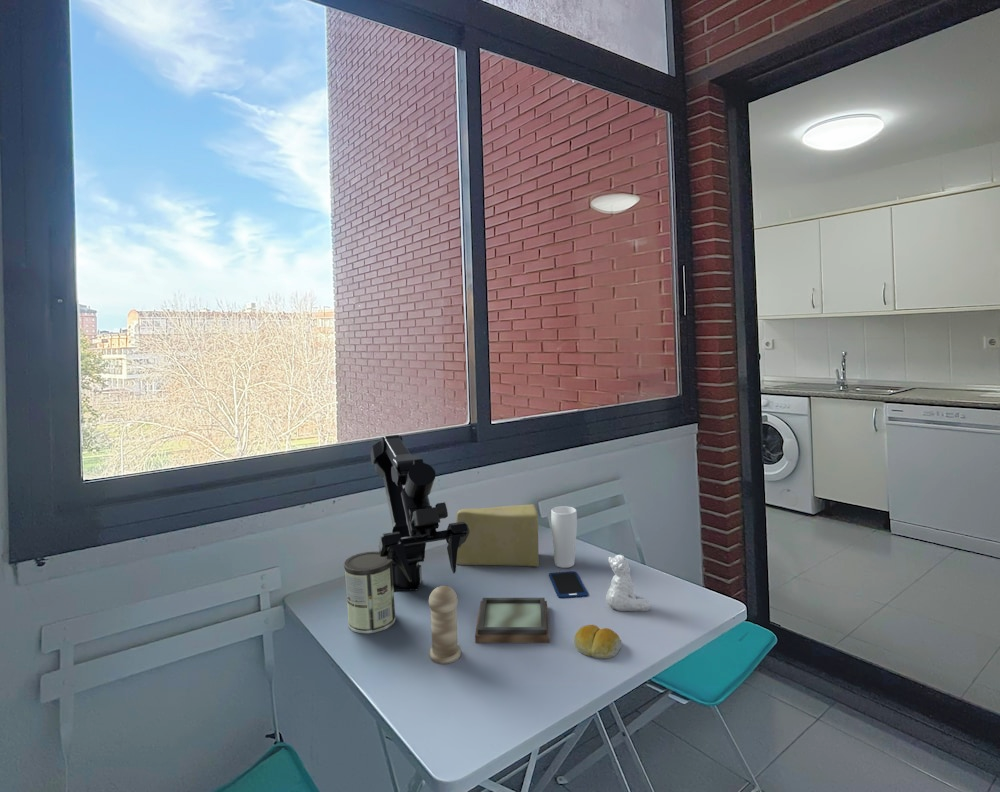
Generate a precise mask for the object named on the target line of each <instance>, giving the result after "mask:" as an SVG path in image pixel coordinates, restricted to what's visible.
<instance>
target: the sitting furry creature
mask: <svg viewBox="0 0 1000 792" xmlns="http://www.w3.org/2000/svg"><path fill="white" fill-rule="evenodd" d="M608 563H609V567H610V568H611V571H613V573H614V575H613V577H612V578H611V580H610V584H609V585H610V587H608V590H607V592H606V595H605V599H606V600H605V601H606V604H607V605H608V606H609V607H610V609H613V610H615V611H618V612H648V611H650V610H651V603H650V602H649V600H647V599H644V598H643V597H641V598H637V596H636V594H635V593H634V588H635V585H634V582H633V580H632V577H631V574H630V573H631V568H630V565H629V561H628V560H627V559H626V558H625V556H624V554H616V555H615V556H614V557H613V556H609V557H608Z"/></svg>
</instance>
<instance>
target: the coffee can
mask: <svg viewBox="0 0 1000 792" xmlns="http://www.w3.org/2000/svg"><path fill="white" fill-rule="evenodd" d="M392 562H393V560H392V559H387V556H385V557H381V556H380V552H379V551H366V552H360V553H357V554H355V555H352V556H349V557H347V559H345V560H344V563H343V568H344V576H345V579H344V580H345V590H346V591H345V592H346V606H347V617H348V618H347V619H348V621H347V622H348V623H347V624H348V629H350V631H352V632H355V633H358V634H375V633H380V632H382V631H384V630H387V629H389V628H390V627H392V625H394V623H395V622H396V607H395V606H396V605H395V590H394V588H393V570H392Z"/></svg>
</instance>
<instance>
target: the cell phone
mask: <svg viewBox="0 0 1000 792" xmlns="http://www.w3.org/2000/svg"><path fill="white" fill-rule="evenodd" d="M548 578H549V579H550V582H551V584H552V587H553V589H554V591H555V594H556V597H557V598H558V599H573V598H574V599H575V598H586V597H589V592H588V591H587V589H586V587H585V585H584V583H583V581H582V580H581V577H580V576H579V574H578V572H577V571H575V570H572V571H571V570H570V571H555V572H549V573H548Z"/></svg>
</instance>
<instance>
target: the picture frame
mask: <svg viewBox="0 0 1000 792" xmlns="http://www.w3.org/2000/svg"><path fill="white" fill-rule="evenodd" d="M547 601H548V600H545V597H482V599H481V600H480V602H479V603H480V604H479V609H478V615H477V621H476V628H475V633H474V634H475V635H474V642H475V643H482V644H483V643H484V644H485V643H489V644H492V643H494V644H496V643H497V644H499V643H501V644H502V643H503V644H505V643H506V644H508V643H511V644H512V643H513V644H516V643H518V644H519V643H522V644H525V643H529V644H531V643H537V644H538V643H539V644H541V643H546V644H547V643H548V644H550V629H549V627H550V626H549V615H548V614H549V613H548V602H547Z"/></svg>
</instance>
